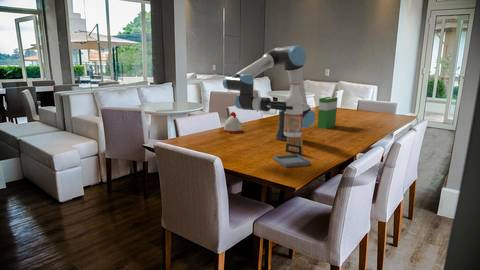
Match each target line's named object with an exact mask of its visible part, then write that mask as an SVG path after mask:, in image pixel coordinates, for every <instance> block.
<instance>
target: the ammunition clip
mask: <svg viewBox="0 0 480 270" xmlns="http://www.w3.org/2000/svg"><path fill="white" fill-rule="evenodd" d="M303 147H304V146H303V134H302V133H301V136H300V137H293V138H292V137H290V138H289V137H287V141H286V144H285V152H286V153H290V154H298V155H300V156H302V155H303V153H304V149H303Z"/></svg>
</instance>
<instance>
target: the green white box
mask: <svg viewBox="0 0 480 270" xmlns="http://www.w3.org/2000/svg"><path fill="white" fill-rule="evenodd" d="M337 107H338V97H331V96H325V97H321V98H320V97H319V100H318V115H317V128H318V129H322V130H327V129H330V128H332V127H333V128H334V127H336V122H337V121H336V120H337V119H336V118H337Z"/></svg>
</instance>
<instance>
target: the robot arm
mask: <svg viewBox="0 0 480 270" xmlns="http://www.w3.org/2000/svg"><path fill="white" fill-rule="evenodd" d="M306 60H307V54H306V51H305V49H304V48H303V47H301V46H299V45H294V44H293V45H280V46H277V47H275V48H273V49H271V50H269V51H267V52H265V53H264V54H262V57H261V58H259V59H257V60H256V61H254V62H253V63H251V64H249V65H248V66H246V67H244V68H243V69H241V70H239V71H238V72H236V73H235V74H233V75H231V76H226V77H224V78H223V80H222V86H223V88H224V89H225V90H229V91H237V92H238V91H239V94H238V95H237V96H236V98H235V101H234V106H235V108H237V109H240V110H244V111H245V110H247V111H256V112H261V111H262V112H269V111H270V110H277V111H279V112H278V128H277V130H276V134H275V139H276V140H279V141H284V142H285V141H286V142H287V136H285V135H284V114H285V112H286V109H287V110H291V111H299V110H300V106H297V105H287V106H286V101H279V100H278V101H277V100H273V101H272V100H271V98H270V97H265V96H254V78H255V77H257V76H258V75H260V74H261V73H262V72H265V71H266V70H268V69H269V68H270V69H272V68H274V67H276V66H283V67H284V71H286V72H287V75H288V81H289V84H290V83H291V82H299V83H300V86H299V90H300V93H301V95H302V97H303V103H302V108H303V116H302V129H303V128H305V129H309V128H311V127H312V126H313V124H314V123H315V121H316V112H315V111H313V110H311V105H309V104H308V101H307V93H306V88H305V81H304V76H303V71H302V69H303V68H304V65H305V63H306ZM289 87H290V88H291V86H289ZM289 138H290V137H289ZM292 138H293V137H292Z"/></svg>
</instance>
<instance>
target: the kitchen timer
mask: <svg viewBox="0 0 480 270" xmlns="http://www.w3.org/2000/svg"><path fill="white" fill-rule="evenodd" d="M224 131H225V132H224ZM241 131H243V127H242V122H241V121H240V120H239V118H238V117H237V114H236V112H234V111H231V112H230V114H229V117H228V118H227V119H226V120H225V122H224V127H223V132H224V133H227V132H229V134H238V133H237V132H239V133H242V132H241Z"/></svg>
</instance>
